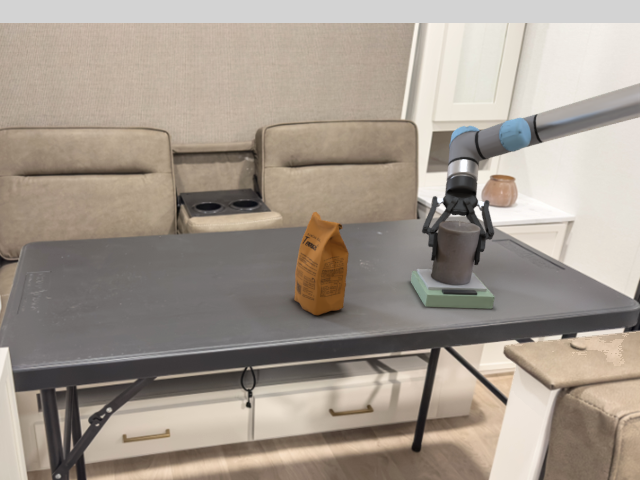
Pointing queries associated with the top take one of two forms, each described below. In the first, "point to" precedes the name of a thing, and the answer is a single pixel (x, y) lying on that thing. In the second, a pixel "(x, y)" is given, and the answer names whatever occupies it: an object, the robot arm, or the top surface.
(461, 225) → the pillar candle
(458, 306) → the scale
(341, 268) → the coffee package
